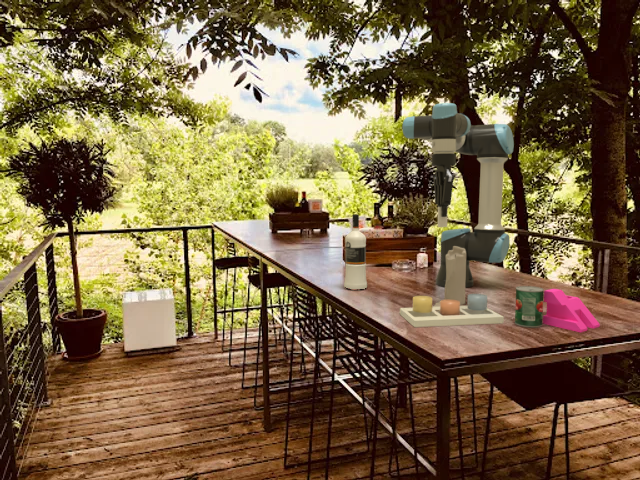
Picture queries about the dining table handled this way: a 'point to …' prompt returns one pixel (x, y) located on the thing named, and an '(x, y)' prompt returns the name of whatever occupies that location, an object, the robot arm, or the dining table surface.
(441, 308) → the terracotta button
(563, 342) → the dining table surface
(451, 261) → the beige tall tapered piece
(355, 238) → the vodka
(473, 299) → the slate-blue button
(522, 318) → the canned tomato
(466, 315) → the panel
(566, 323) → the bracket
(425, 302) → the ochre button
